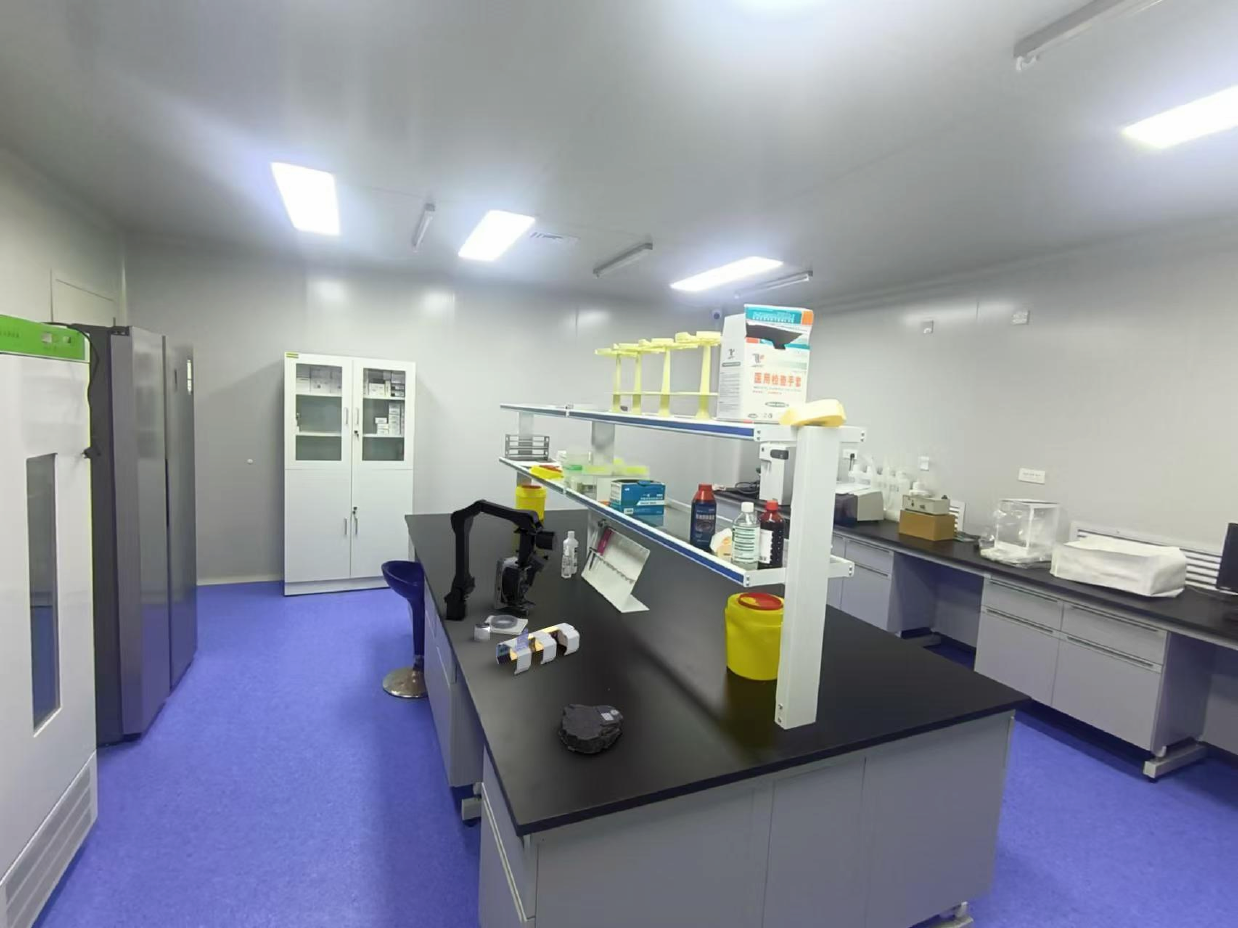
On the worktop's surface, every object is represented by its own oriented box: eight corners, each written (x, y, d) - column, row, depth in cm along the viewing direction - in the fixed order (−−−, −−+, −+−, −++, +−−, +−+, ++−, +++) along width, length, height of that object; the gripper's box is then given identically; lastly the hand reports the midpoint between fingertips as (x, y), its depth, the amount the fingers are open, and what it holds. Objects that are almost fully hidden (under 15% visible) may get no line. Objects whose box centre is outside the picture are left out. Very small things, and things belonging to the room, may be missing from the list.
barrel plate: (479, 631, 191) (479, 624, 191) (489, 618, 203) (490, 611, 203) (519, 635, 190) (519, 628, 190) (527, 622, 202) (528, 615, 202)
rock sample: (602, 764, 124) (604, 744, 124) (542, 744, 130) (543, 724, 130) (631, 726, 141) (632, 707, 140) (576, 709, 146) (577, 691, 146)
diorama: (516, 676, 162) (519, 633, 161) (495, 664, 169) (497, 622, 167) (578, 652, 181) (580, 613, 179) (556, 642, 187) (559, 604, 186)
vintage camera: (519, 620, 204) (524, 568, 202) (491, 608, 213) (496, 557, 211) (538, 614, 212) (543, 564, 210) (511, 602, 221) (515, 554, 219)
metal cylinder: (472, 641, 183) (472, 626, 182) (477, 635, 188) (477, 621, 187) (487, 642, 182) (487, 628, 182) (491, 636, 187) (492, 622, 187)
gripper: (533, 556, 182) (529, 602, 184) (559, 545, 200) (556, 587, 201) (504, 550, 186) (501, 595, 188) (533, 540, 204) (529, 581, 205)
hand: (523, 590), depth 196 cm, fingers open, 9 cm apart
